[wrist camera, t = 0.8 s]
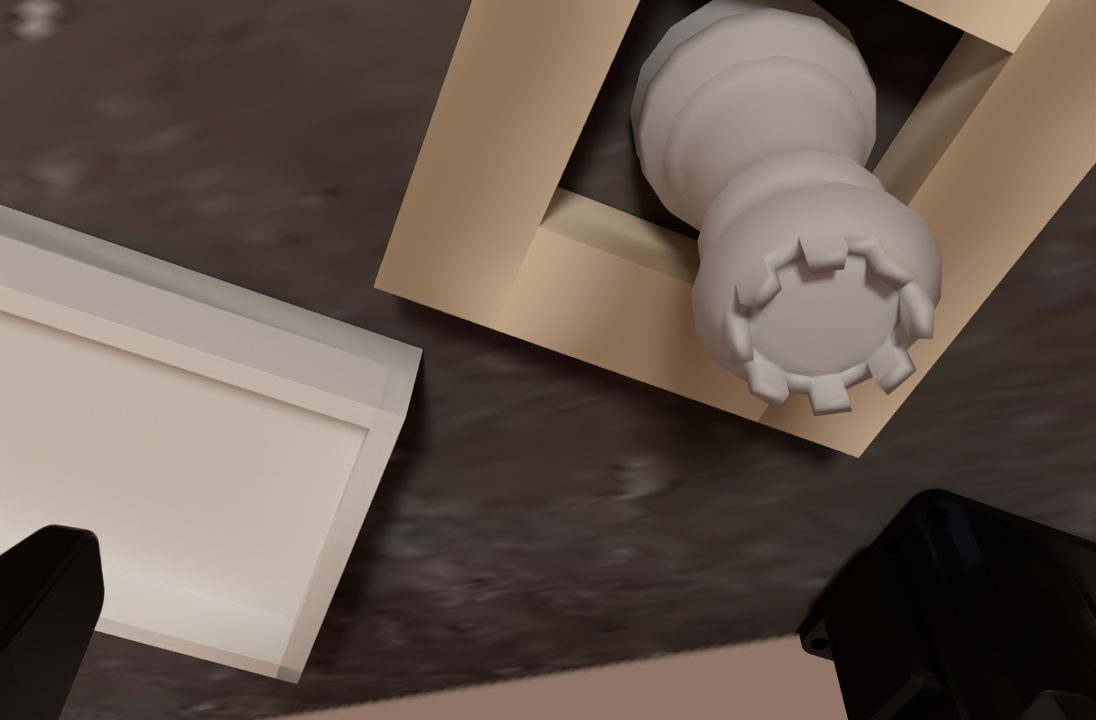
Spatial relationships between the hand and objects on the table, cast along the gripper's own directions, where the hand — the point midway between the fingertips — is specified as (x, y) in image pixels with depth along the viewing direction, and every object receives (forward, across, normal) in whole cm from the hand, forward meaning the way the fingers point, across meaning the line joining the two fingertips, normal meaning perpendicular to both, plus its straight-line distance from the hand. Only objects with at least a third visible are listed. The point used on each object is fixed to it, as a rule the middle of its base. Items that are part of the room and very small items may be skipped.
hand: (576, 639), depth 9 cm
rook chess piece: (+12, -3, -1) cm, 13 cm away
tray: (+12, +10, +9) cm, 18 cm away
